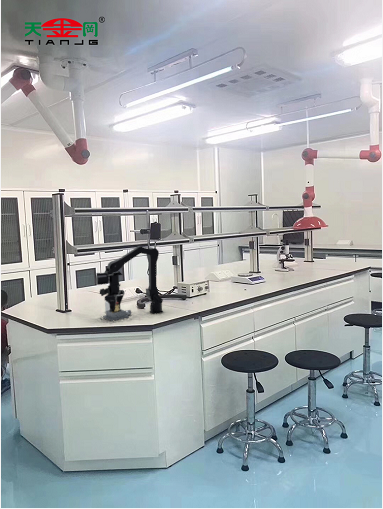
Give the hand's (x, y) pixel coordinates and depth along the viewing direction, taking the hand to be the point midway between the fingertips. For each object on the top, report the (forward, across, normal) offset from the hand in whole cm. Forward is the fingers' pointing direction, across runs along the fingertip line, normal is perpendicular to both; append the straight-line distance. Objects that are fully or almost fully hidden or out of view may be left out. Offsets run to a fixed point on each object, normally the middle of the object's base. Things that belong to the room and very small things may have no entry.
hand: (115, 309), depth 238 cm
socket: (+5, -1, +1) cm, 5 cm away
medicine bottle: (+5, -13, -6) cm, 16 cm away
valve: (+4, 0, 0) cm, 4 cm away
